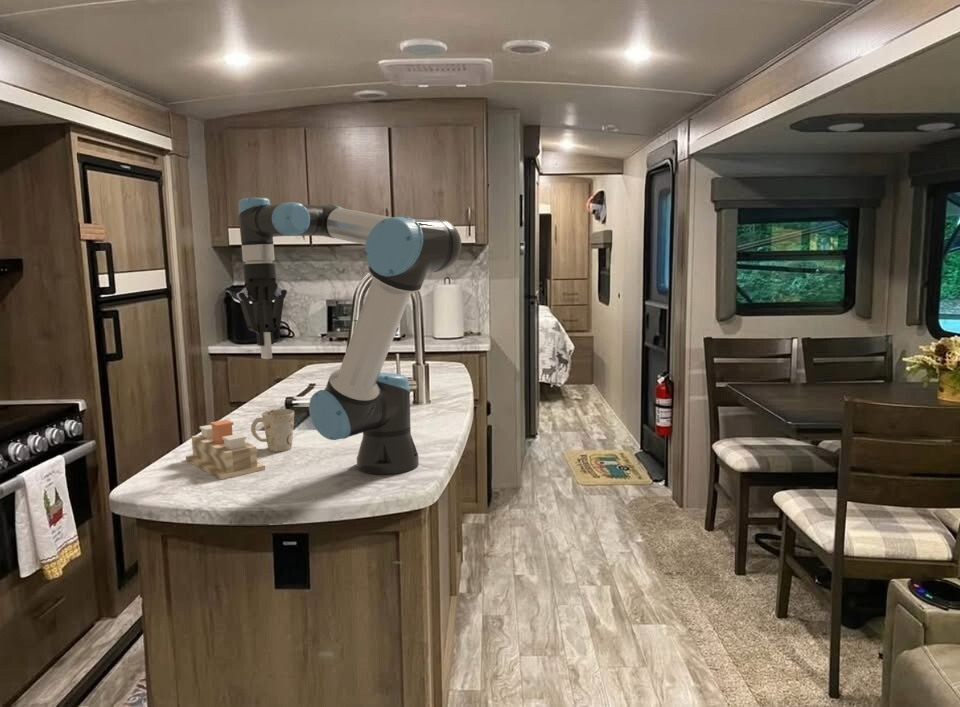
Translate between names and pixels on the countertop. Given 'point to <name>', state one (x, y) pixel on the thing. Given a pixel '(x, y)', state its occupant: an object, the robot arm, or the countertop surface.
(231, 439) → the plug near
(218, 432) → the plug centre
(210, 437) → the plug far
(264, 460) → the countertop surface
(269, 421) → the mug
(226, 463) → the stepped wooden base
